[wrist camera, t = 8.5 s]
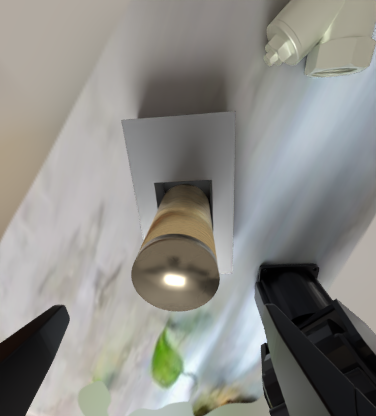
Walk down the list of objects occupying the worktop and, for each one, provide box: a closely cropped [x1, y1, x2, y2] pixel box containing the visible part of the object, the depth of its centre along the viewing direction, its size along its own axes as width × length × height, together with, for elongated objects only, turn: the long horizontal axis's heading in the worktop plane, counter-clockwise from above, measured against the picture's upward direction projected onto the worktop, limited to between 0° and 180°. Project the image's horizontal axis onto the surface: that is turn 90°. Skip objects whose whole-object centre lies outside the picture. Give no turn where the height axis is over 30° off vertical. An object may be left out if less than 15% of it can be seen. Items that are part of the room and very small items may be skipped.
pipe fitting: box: [263, 0, 376, 77], centre depth 13 cm, size 8×4×7 cm
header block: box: [121, 111, 236, 274], centre depth 19 cm, size 8×14×4 cm, turn 4°
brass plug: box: [131, 184, 220, 311], centre depth 13 cm, size 4×4×8 cm
